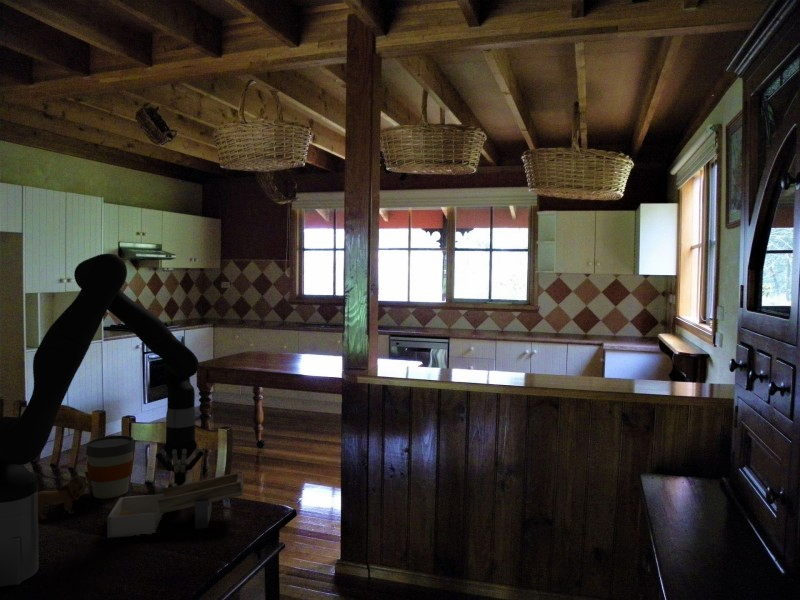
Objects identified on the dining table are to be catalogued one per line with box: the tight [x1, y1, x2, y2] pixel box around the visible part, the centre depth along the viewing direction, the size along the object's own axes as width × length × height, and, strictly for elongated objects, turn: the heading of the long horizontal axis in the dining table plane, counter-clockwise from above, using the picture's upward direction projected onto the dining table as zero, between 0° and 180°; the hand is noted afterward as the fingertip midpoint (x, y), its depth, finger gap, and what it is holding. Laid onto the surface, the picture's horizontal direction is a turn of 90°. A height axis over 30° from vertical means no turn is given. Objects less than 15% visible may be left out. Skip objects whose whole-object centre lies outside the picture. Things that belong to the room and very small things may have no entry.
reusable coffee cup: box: [85, 435, 136, 499], centre depth 159 cm, size 13×13×15 cm
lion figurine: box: [38, 475, 87, 520], centre depth 144 cm, size 15×5×9 cm, turn 132°
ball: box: [119, 510, 132, 515], centre depth 139 cm, size 3×3×3 cm
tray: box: [106, 493, 164, 539], centre depth 139 cm, size 13×11×5 cm
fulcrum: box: [194, 499, 213, 530], centre depth 143 cm, size 11×3×7 cm, turn 14°
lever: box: [158, 471, 245, 514], centre depth 147 cm, size 18×20×4 cm
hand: (180, 484), depth 152 cm, fingers closed
